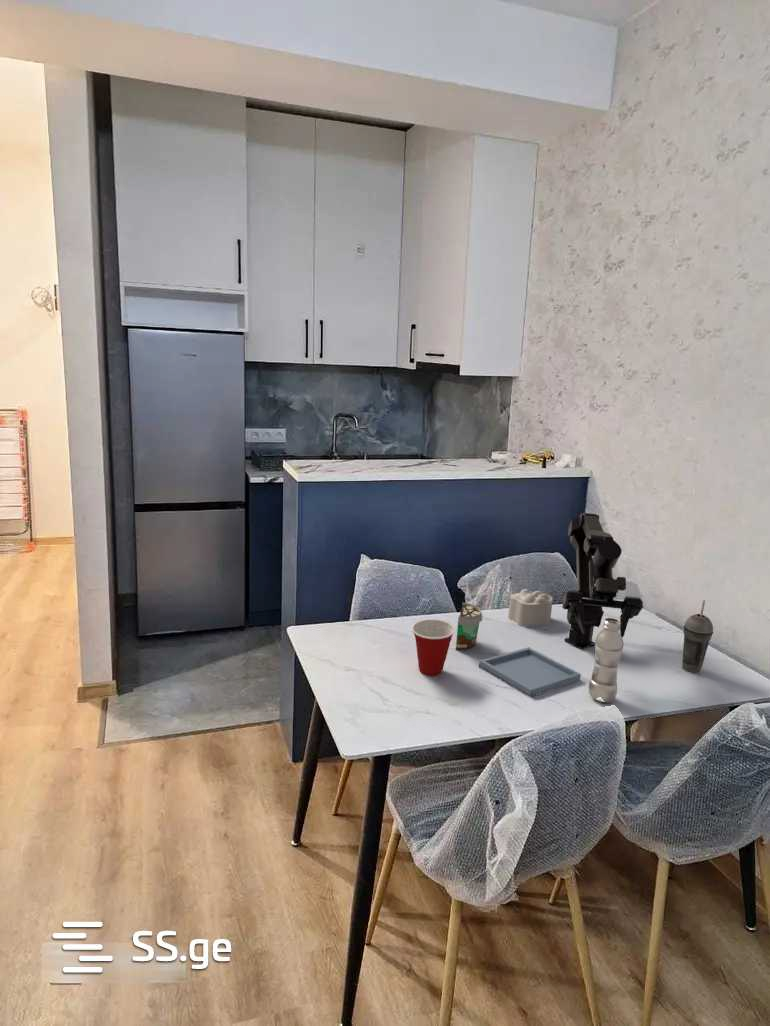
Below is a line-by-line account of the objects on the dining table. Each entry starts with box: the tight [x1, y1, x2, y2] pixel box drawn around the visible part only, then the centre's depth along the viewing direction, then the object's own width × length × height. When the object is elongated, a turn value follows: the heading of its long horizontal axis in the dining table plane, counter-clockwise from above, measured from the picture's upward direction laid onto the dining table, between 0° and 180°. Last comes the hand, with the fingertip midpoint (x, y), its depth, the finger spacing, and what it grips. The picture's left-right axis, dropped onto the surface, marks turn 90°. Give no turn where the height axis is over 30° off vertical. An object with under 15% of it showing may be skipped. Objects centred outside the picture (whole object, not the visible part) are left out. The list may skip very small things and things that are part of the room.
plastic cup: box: [411, 618, 456, 677], centre depth 174 cm, size 11×11×12 cm
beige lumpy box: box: [507, 588, 554, 628], centre depth 214 cm, size 10×13×9 cm
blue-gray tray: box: [478, 646, 582, 698], centre depth 178 cm, size 18×18×2 cm
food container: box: [455, 602, 483, 651], centre depth 192 cm, size 12×6×10 cm, turn 168°
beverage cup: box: [681, 600, 714, 674], centre depth 184 cm, size 7×7×20 cm
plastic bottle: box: [588, 617, 624, 703], centre depth 165 cm, size 6×7×20 cm
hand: (603, 634), depth 171 cm, fingers open, 9 cm apart
